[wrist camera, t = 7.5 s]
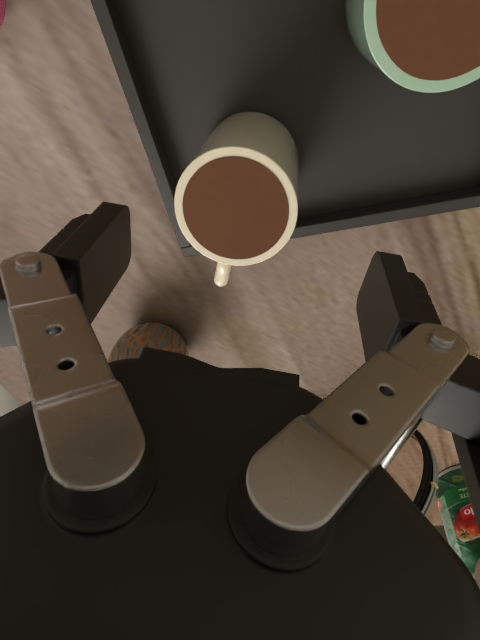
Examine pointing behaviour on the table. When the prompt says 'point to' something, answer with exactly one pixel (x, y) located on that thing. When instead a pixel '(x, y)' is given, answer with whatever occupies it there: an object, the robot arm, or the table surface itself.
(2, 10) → the stress ball
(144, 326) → the vase
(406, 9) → the green cup
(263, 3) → the tray
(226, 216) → the cream cup
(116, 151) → the table surface
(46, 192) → the table surface
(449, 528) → the canned tomato
